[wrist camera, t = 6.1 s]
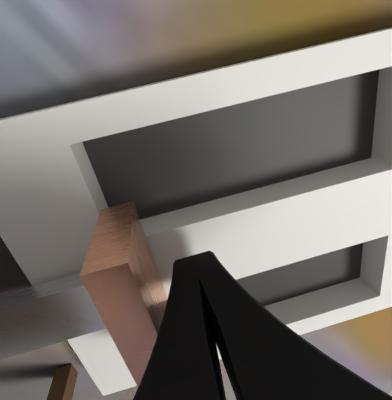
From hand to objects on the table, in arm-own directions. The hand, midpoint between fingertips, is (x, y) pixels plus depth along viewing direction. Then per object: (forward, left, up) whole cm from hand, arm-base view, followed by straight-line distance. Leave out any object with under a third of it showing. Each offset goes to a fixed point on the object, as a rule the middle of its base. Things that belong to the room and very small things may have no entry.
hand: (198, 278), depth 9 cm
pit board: (0, -3, -2) cm, 4 cm away
